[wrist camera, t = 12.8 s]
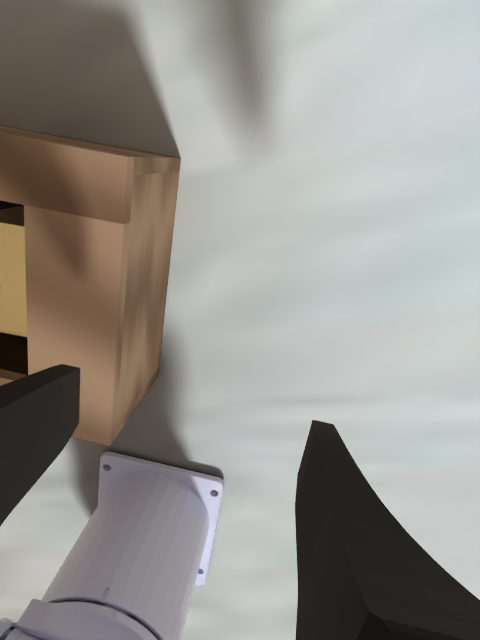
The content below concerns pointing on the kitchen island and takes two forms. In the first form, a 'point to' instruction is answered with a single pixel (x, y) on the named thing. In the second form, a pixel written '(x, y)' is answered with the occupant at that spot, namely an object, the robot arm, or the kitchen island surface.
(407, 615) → the robot arm
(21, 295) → the wooden block
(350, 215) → the kitchen island surface
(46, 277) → the brown square open block
